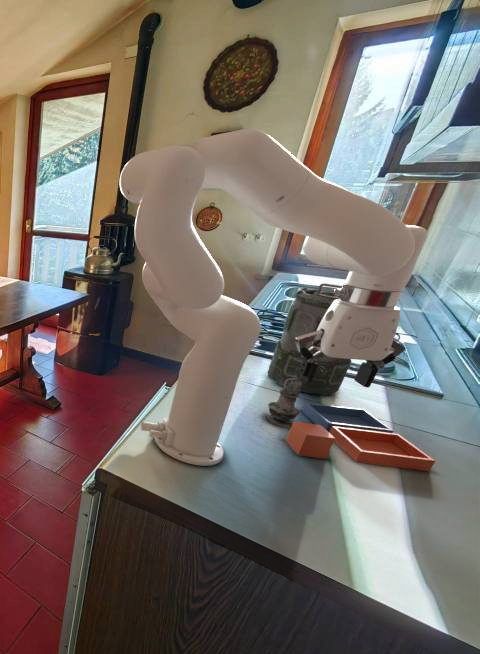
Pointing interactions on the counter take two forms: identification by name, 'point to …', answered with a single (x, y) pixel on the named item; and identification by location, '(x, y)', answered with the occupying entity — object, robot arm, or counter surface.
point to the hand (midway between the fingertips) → (332, 381)
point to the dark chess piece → (285, 404)
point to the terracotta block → (310, 440)
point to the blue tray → (343, 418)
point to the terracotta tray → (381, 448)
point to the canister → (301, 322)
